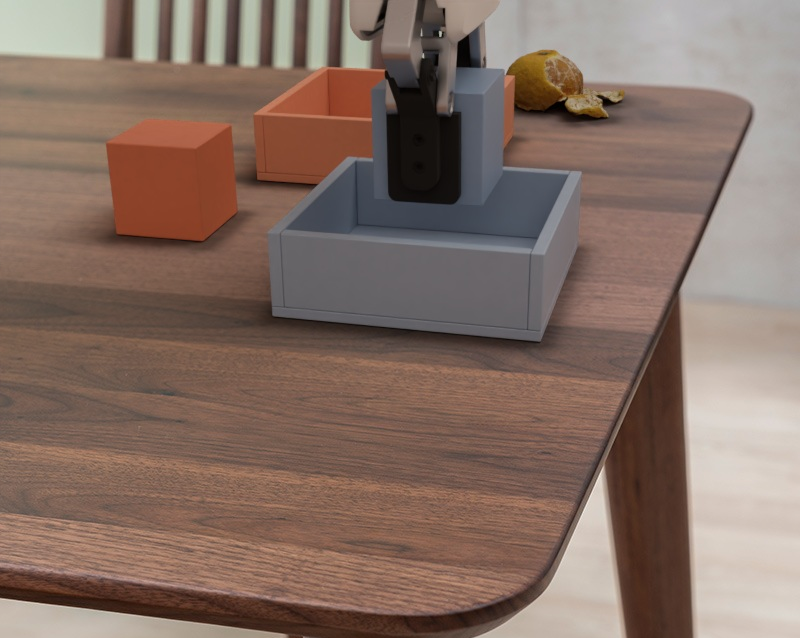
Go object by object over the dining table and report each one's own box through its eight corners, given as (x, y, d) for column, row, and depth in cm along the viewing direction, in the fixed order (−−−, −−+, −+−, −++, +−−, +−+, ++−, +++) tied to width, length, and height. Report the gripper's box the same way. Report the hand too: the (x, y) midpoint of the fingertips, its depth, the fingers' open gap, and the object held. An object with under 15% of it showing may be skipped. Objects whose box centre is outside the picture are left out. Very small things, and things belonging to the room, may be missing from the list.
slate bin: (272, 316, 57) (266, 232, 55) (349, 229, 67) (347, 156, 65) (540, 342, 54) (544, 254, 52) (578, 247, 64) (582, 170, 63)
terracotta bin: (257, 180, 75) (252, 113, 73) (324, 125, 87) (321, 66, 85) (473, 195, 72) (474, 126, 70) (513, 136, 84) (515, 75, 82)
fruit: (600, 123, 86) (603, 69, 84) (485, 113, 89) (486, 60, 87) (628, 97, 93) (632, 46, 91) (520, 88, 96) (522, 39, 94)
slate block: (373, 199, 57) (370, 88, 55) (401, 169, 61) (399, 64, 59) (482, 206, 56) (483, 93, 53) (503, 174, 60) (505, 68, 58)
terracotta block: (115, 234, 67) (104, 142, 65) (155, 205, 71) (146, 118, 69) (203, 242, 66) (195, 148, 63) (238, 212, 70) (231, 123, 68)
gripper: (400, -256, 58) (406, 131, 66) (275, -262, 44) (303, 237, 52) (561, -261, 57) (547, 138, 65) (488, -268, 42) (482, 249, 50)
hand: (439, 178), depth 58 cm, fingers closed on slate block, 5 cm apart
